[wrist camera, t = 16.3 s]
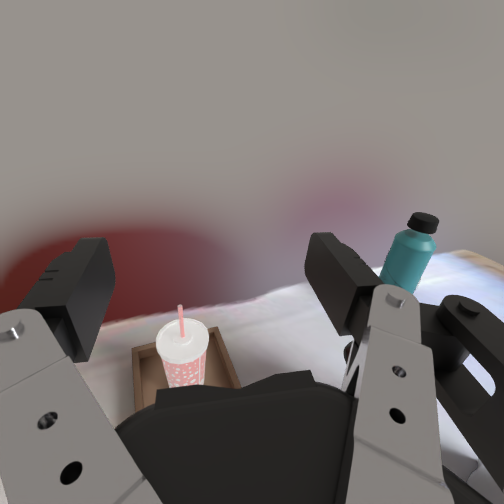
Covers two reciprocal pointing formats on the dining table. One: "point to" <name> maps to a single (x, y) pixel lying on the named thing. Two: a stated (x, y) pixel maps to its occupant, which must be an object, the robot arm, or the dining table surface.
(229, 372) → the walnut tray
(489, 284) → the dining table surface
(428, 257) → the beverage bottle
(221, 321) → the dining table surface
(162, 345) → the beverage cup
